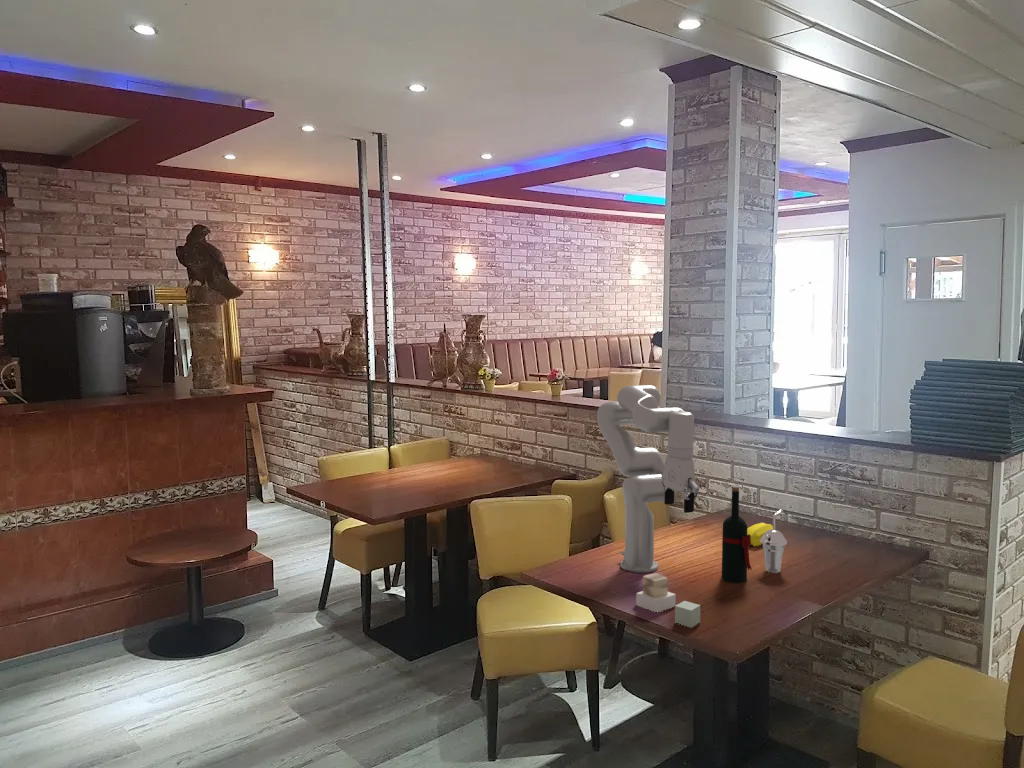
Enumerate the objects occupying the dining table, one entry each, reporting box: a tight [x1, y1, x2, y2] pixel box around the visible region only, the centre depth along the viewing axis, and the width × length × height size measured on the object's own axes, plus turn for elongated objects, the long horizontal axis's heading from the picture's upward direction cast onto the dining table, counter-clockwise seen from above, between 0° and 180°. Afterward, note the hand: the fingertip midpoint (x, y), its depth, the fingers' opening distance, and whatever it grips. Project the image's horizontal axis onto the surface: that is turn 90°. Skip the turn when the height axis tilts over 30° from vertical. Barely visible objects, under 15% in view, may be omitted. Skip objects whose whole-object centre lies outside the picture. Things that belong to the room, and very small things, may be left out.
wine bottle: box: [721, 486, 753, 584], centre depth 237 cm, size 8×10×30 cm
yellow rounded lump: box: [747, 522, 773, 548], centre depth 278 cm, size 18×7×8 cm
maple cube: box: [642, 572, 669, 598], centre depth 217 cm, size 5×5×5 cm
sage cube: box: [674, 600, 701, 629], centre depth 205 cm, size 5×5×5 cm
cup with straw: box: [760, 508, 788, 574], centre depth 246 cm, size 8×9×20 cm
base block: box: [635, 590, 677, 614], centre depth 217 cm, size 8×8×4 cm
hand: (678, 507), depth 225 cm, fingers open, 9 cm apart
